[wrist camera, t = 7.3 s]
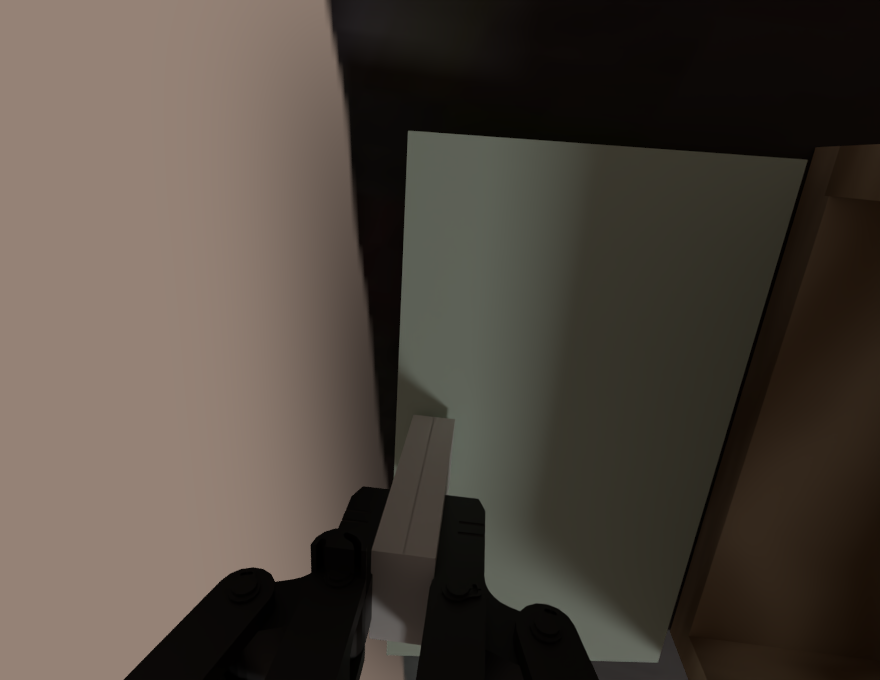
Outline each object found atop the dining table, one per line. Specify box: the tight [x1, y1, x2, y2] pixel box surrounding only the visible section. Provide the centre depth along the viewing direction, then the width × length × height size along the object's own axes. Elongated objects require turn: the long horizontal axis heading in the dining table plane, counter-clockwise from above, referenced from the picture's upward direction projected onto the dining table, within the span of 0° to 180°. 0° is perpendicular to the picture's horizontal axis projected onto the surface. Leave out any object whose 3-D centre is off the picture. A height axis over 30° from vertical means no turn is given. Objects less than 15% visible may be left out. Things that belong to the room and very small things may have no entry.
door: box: [387, 131, 808, 662], centre depth 19 cm, size 2×21×12 cm
